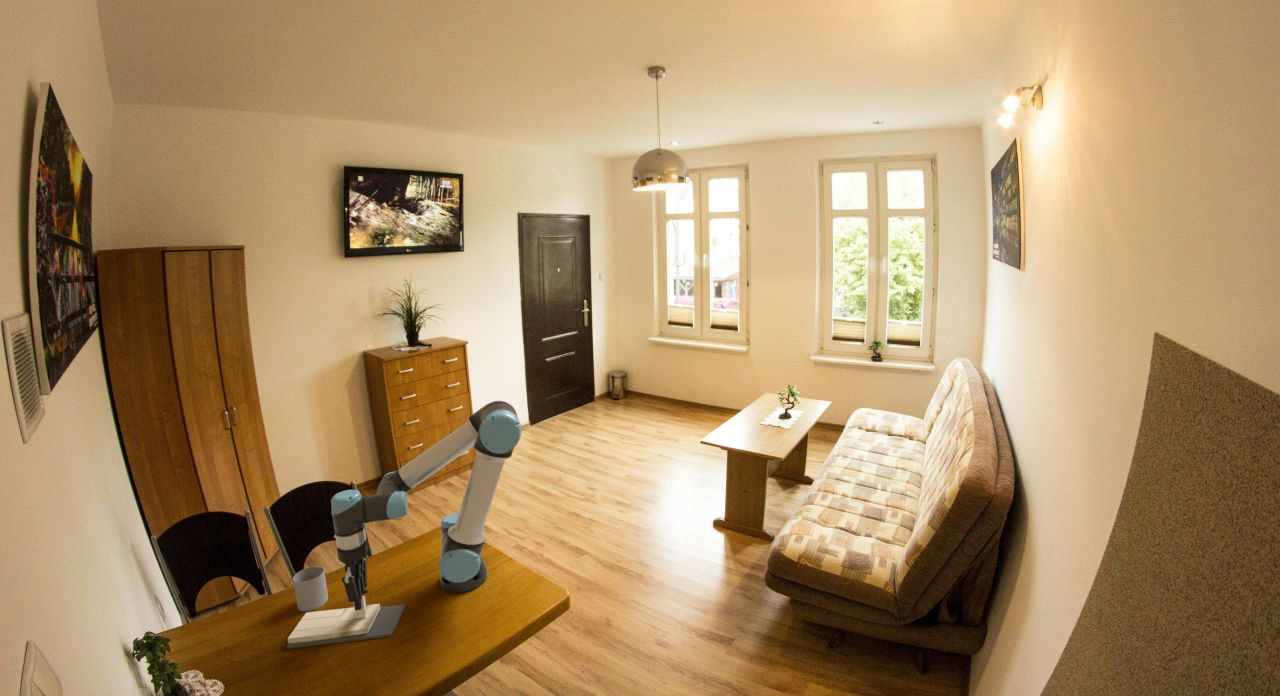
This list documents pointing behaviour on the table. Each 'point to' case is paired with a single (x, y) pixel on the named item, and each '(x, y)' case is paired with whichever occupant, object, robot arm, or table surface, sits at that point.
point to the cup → (310, 588)
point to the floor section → (321, 623)
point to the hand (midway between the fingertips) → (361, 616)
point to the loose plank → (354, 622)
